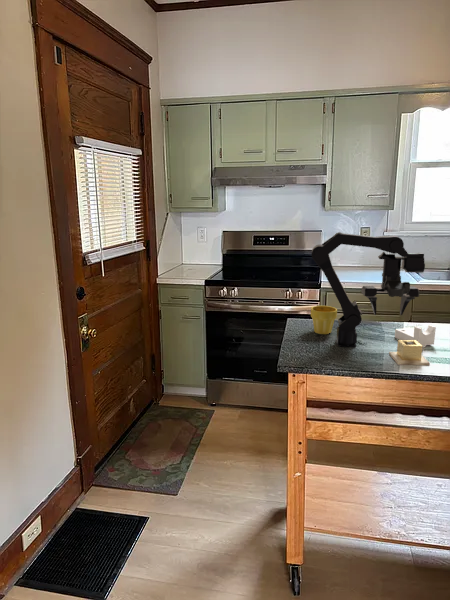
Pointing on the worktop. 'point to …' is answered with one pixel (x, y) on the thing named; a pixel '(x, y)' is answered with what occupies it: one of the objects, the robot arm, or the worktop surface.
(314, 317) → the plant pot
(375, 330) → the worktop surface
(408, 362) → the post board
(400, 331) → the bracket
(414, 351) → the brass collar
